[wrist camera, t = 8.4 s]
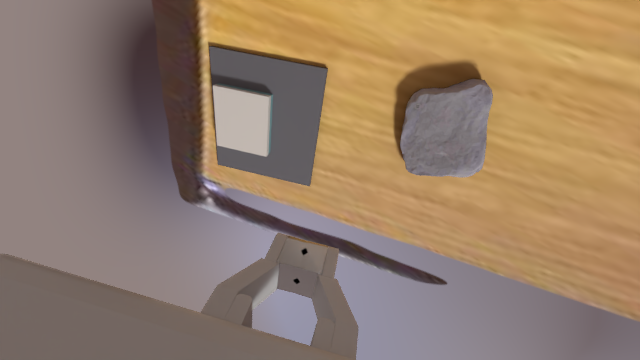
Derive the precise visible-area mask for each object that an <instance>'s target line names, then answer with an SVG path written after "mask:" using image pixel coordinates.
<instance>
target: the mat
mask: <svg viewBox="0 0 640 360" xmlns="http://www.w3.org/2000/svg"><path fill="white" fill-rule="evenodd" d="M209 50H210V64H211V77H212V91H213V85H215V84H218V83H220V84H225V85H230V86H235V87H240V88H245V89H250V90H254V91H259V92H264V93H269V94H273V105H272V126H271V147H270V153H269V154H268V156H267V157H265V156H261V155H256V154H252V153H248V152H243V151H239V150H235V149H230V148H226V147H222V146H217V158H218V165H222V166H226V167H230V168H235V169H239V170H243V171H247V172H252V173H256V174H260V175H264V176H268V177H273V178H277V179H281V180H285V181H290V182H294V183H298V184H302V185H307V186H310V183H311V176H312V170H313V163H314V157H315V150H316V143H317V137H318V130H319V123H320V117H321V110H322V104H323V97H324V90H325V84H326V77H327V71H328V68H323V67H318V66H312V65H307V64H302V63H297V62H292V61H286V60H281V59H276V58H271V57H266V56H260V55H255V54H250V53H245V52H240V51H234V50H229V49H224V48H219V47H214V46H209ZM213 104H214V96H213ZM214 118H215V110H214ZM215 131H216V124H215ZM216 145H217V137H216Z"/></svg>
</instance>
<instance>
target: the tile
mask: <svg viewBox="0 0 640 360" xmlns="http://www.w3.org/2000/svg"><path fill="white" fill-rule="evenodd" d="M213 96H214V110H215V124H216V137H217V146H222V147H226V148H230V149H235V150H239V151H243V152H248V153H252V154H256V155H261V156H265V157H267V156H268V154H269V153H270V147H271V126H272V105H273V94H269V93H264V92H259V91H254V90H250V89H245V88H240V87H235V86H230V85H225V84H220V83H218V84H215V85H213Z"/></svg>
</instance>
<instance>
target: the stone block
mask: <svg viewBox="0 0 640 360" xmlns="http://www.w3.org/2000/svg"><path fill="white" fill-rule="evenodd" d="M492 98H493V94H492V90H491V88H490V87H489V86H488V85H487V83H486V82H485V80H481V79H470V80H467V81H464V82H460V83H458V84H455V85H452V86H449V87H448V88H428V89H420V90H419V91H417V92H415V93H414V94H413V95H412V96H411V98H410V100H409V102H408V104H407V107H406V111H405V120H404V124H403V127H402V134H401V141H400V148H401V151H402V154H403V159H404V160H405V165H406V169H407V170H408V172H410V173H413V174H415V175H426V176H441V177H442V176H453V177H469V176H472V175H473V174H475V173H476V172H479V171H480V170H481V169H482V166H483V163H484V159H485V149H486V131H487V120H488V116H489V110H490V107H491V104H492Z"/></svg>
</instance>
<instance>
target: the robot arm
mask: <svg viewBox="0 0 640 360" xmlns="http://www.w3.org/2000/svg"><path fill="white" fill-rule="evenodd" d="M338 253H339V249H336V248H333V247H328V246H325V245H322V244H318V243H314V242H310V241H305V240H302V239H298V238H295V237H292V236H288V235H284V234H281V233H278V234H277V235H276V237H275V239H274V241H273V243H272V245H271V247H270V249H269V251H268V253H267V255H266V257H265V259H262V258H261V259H260V260H258V261H257V262H255V263H253V264H251V265H250V266H248V267H247V268H245V269H243V270H242V271H240V272H238V273H237V274H235V275H234V276H232V277H230V278H229V279H227V280H225V281H224V282H222V283H221V284H219V285H218V286H217V287H216V288H215V290H214V291H213V293H212V295H211V296H210V298H209V300H208V301H207V303H206V304H205V306H204V308H203V309H202V311H201V313H199V312H196V311H193V310H189V309H186V308H183V307H179V306H176V305H173V304H170V303H166V302H163V301H159V300H156V299H153V298H150V297H146V296H143V295H140V294H137V293H133V292H130V291H126V290H123V289H120V288H117V287H113V286H110V285H107V284H104V283H100V282H97V281H94V280H90V279H87V278H84V277H81V276H77V275H74V274H70V273H67V272H64V271H60V270H57V269H54V268H51V267H48V266H44V265H41V264H38V263H34V262H31V261H28V260H25V259H22V258H18V257H15V256H12V255H8V254H0V360H356V350H357V337H358V325H357V323H356V321H355V319H354V316H353V314H352V312H351V310H350V307H349V305H348V303H347V301H346V298H345V296H344V294H343V292H342V290H341V287H340V285H339V283H338V281H337V279H334V275H335V269H336V264H337V258H338ZM277 289H281V290H285V291H289V292H293V293H296V294H299V295H302V296H306V297H309V298H312V301H313V305H314V308H315V312H316V315H317V319H318V321H317V324H316V328H315V332H314V335H313V338H312V341H311V345H310V346H308V345H305V344H302V343H299V342H295V341H292V340H289V339H285V338H282V337H279V336H275V335H272V334H269V333H265V332H262V331H259V330H255V329H252V310H253V309H255V308H256V307H257V306H258V305H259V304H260V303H262V301H264V300H265V299H266V298H267V297H269V296H270V295H271V294H272V293H273V292H274V291H275V290H277Z"/></svg>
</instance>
